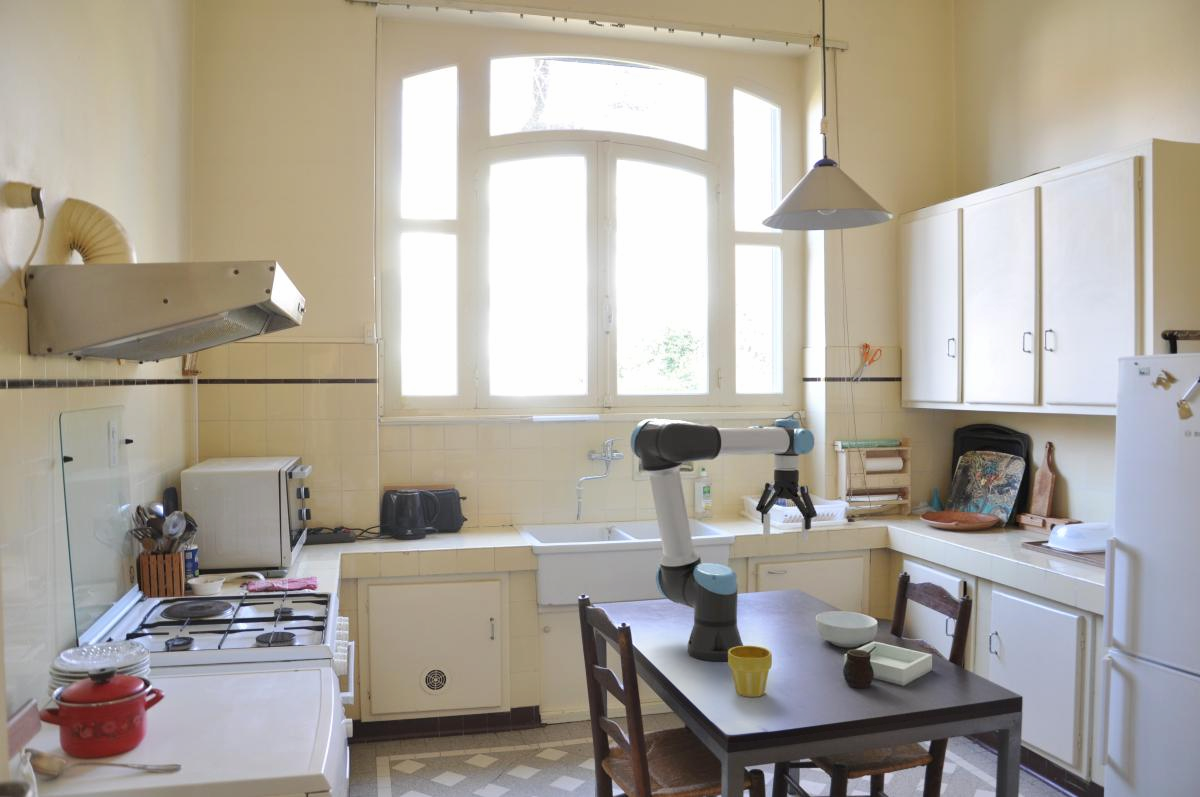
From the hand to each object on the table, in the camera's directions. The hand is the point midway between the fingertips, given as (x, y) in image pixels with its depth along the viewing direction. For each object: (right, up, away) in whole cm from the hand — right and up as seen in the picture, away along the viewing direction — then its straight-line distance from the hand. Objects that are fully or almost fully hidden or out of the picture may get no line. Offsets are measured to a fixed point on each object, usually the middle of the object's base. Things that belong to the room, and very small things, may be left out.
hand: (785, 537), depth 266 cm
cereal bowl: (+12, -27, -24) cm, 37 cm away
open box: (+16, -27, -46) cm, 56 cm away
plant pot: (-22, -27, -62) cm, 71 cm away
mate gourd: (+6, -27, -57) cm, 63 cm away
